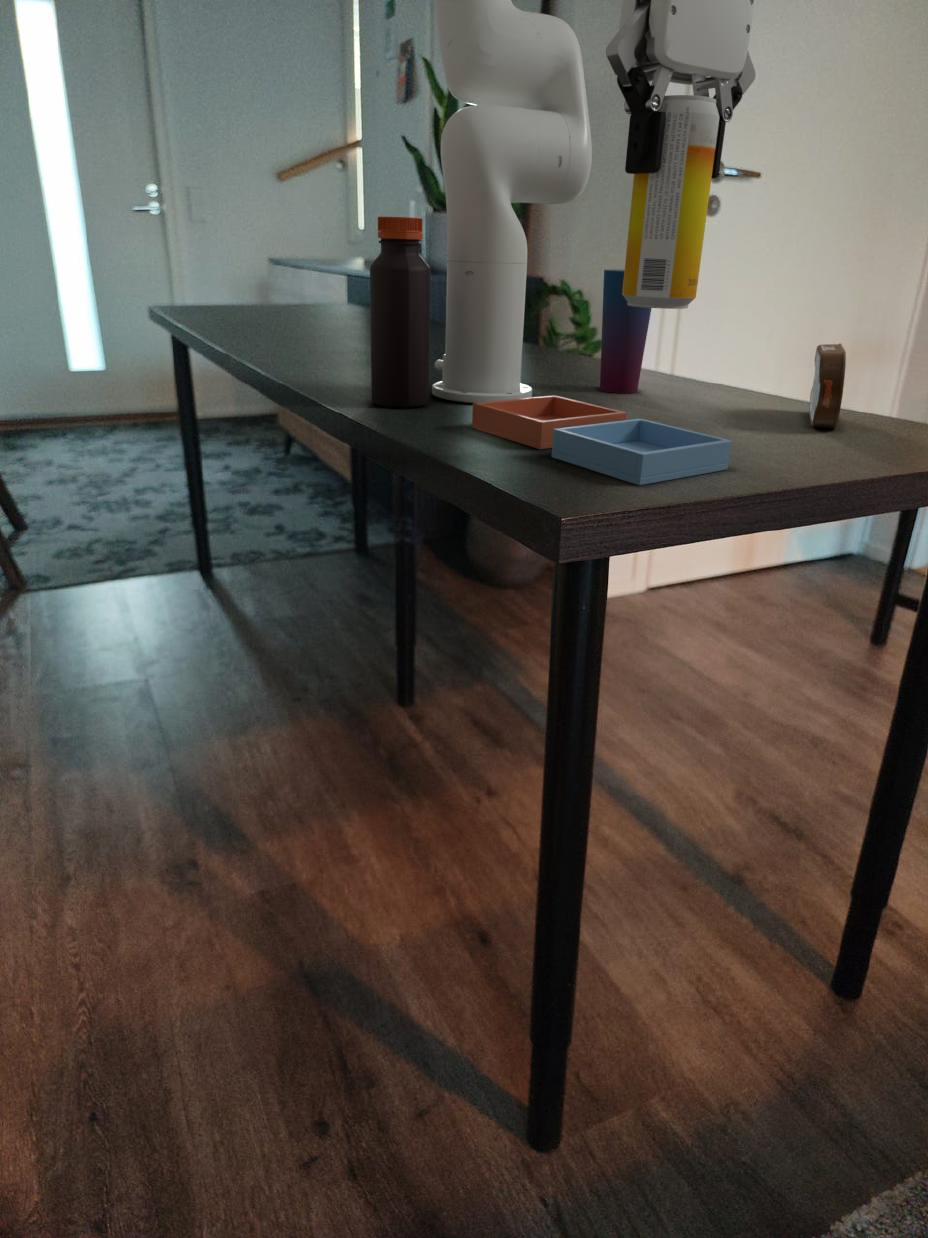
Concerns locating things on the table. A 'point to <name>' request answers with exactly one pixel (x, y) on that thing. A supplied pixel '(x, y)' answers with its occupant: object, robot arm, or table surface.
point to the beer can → (672, 208)
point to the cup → (621, 337)
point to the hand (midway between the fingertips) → (672, 173)
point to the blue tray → (641, 450)
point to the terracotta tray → (537, 418)
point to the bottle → (400, 316)
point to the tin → (827, 386)
